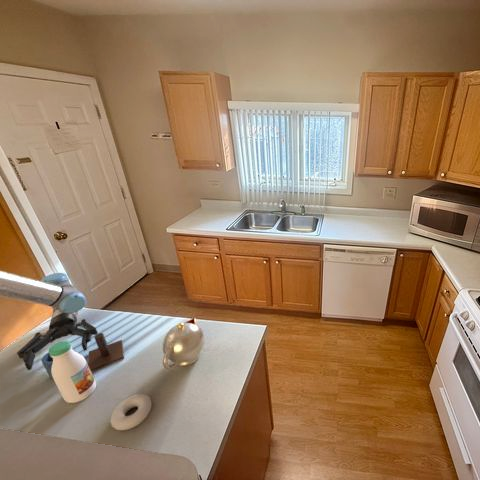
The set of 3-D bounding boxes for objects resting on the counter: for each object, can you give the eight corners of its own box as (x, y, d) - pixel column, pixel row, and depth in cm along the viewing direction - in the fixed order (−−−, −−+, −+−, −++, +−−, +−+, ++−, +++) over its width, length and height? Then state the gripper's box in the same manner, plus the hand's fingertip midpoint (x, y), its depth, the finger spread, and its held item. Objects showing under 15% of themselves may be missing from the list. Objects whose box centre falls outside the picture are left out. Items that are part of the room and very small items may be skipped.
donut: (122, 441, 70) (159, 410, 78) (118, 433, 69) (156, 403, 76) (106, 419, 75) (142, 392, 83) (102, 412, 73) (140, 385, 81)
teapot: (183, 340, 103) (176, 307, 97) (214, 345, 102) (209, 312, 95) (150, 379, 87) (139, 343, 80) (187, 386, 86) (178, 350, 79)
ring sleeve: (46, 383, 84) (36, 366, 81) (56, 365, 90) (48, 349, 87) (73, 376, 86) (65, 359, 83) (82, 360, 92) (75, 343, 89)
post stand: (88, 372, 88) (79, 351, 84) (89, 353, 95) (81, 333, 91) (124, 358, 94) (117, 338, 90) (122, 341, 101) (115, 322, 97)
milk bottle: (70, 409, 77) (45, 361, 69) (61, 395, 80) (36, 348, 72) (101, 389, 83) (81, 343, 75) (91, 377, 87) (71, 332, 79)
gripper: (106, 316, 109) (107, 348, 94) (21, 341, 94) (6, 384, 79) (101, 302, 106) (101, 332, 91) (13, 326, 91) (-5, 367, 76)
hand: (57, 357), depth 85 cm, fingers open, 13 cm apart
